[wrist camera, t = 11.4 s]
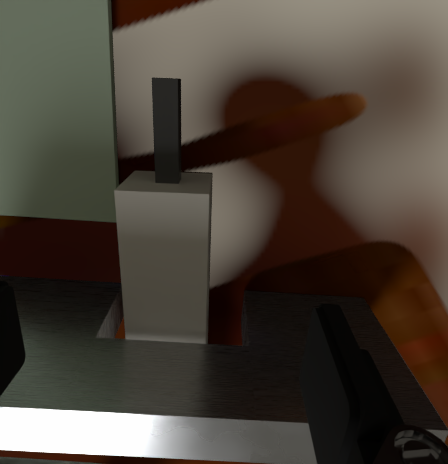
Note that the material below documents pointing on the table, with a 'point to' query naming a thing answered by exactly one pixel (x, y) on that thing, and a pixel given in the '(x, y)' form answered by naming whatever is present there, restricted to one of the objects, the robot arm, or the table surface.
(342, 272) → the table surface
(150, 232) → the plug
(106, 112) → the mat
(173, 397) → the panel
